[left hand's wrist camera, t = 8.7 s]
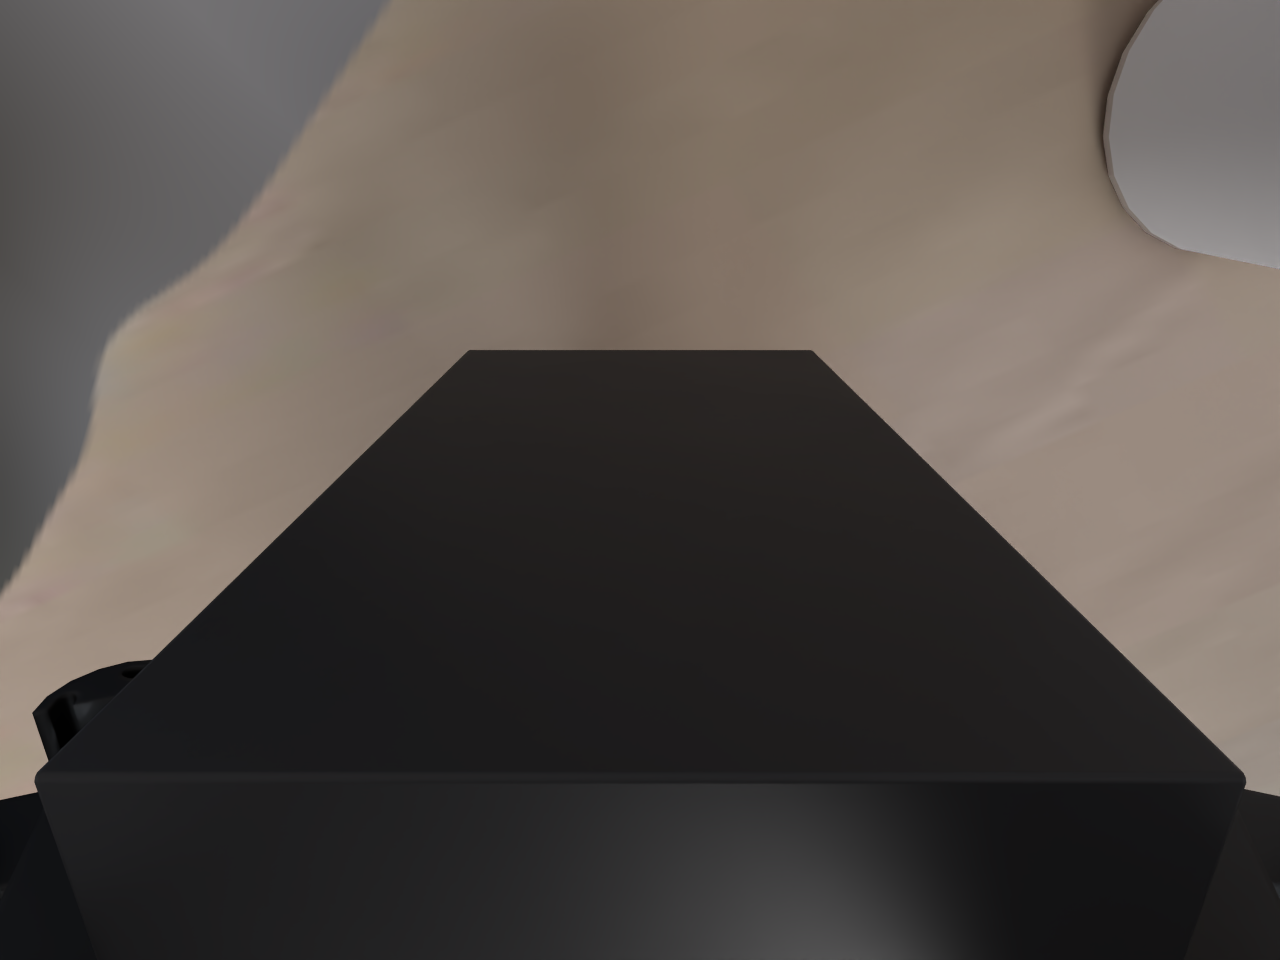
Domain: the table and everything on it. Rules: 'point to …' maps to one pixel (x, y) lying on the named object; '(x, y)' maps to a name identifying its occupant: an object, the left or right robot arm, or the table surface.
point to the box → (640, 705)
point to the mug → (1201, 127)
